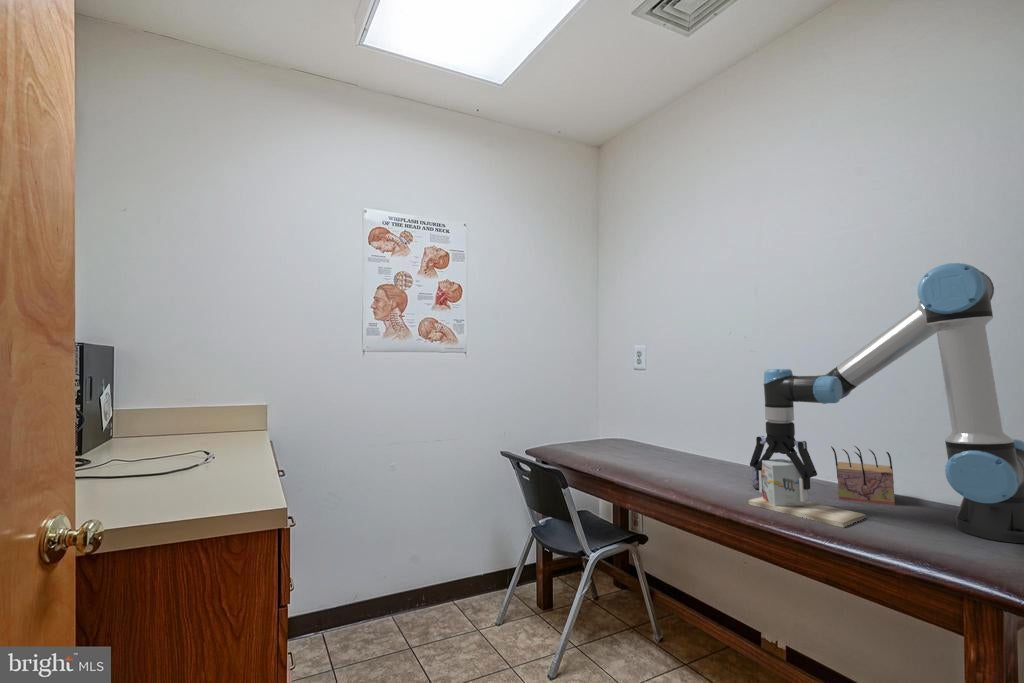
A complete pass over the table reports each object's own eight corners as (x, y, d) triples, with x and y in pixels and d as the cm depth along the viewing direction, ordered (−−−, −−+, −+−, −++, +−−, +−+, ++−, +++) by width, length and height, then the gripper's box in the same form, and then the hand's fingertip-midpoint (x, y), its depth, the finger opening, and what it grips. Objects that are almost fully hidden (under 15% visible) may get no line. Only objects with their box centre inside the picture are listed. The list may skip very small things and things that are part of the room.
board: (865, 518, 135) (865, 514, 135) (843, 527, 128) (842, 522, 128) (771, 497, 157) (771, 493, 157) (748, 504, 150) (748, 500, 151)
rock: (792, 484, 162) (773, 456, 165) (762, 499, 163) (744, 470, 167) (786, 483, 172) (768, 457, 175) (757, 497, 173) (740, 470, 177)
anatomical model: (893, 496, 155) (891, 447, 156) (896, 505, 146) (893, 453, 147) (833, 490, 164) (831, 444, 165) (832, 498, 155) (830, 449, 155)
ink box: (762, 498, 152) (760, 458, 153) (791, 498, 152) (790, 458, 152) (774, 506, 144) (772, 464, 144) (805, 506, 143) (803, 464, 143)
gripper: (829, 423, 141) (832, 503, 140) (749, 417, 161) (752, 486, 160) (814, 426, 137) (818, 507, 136) (735, 418, 157) (738, 489, 156)
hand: (783, 496), depth 148 cm, fingers closed on ink box, 11 cm apart
